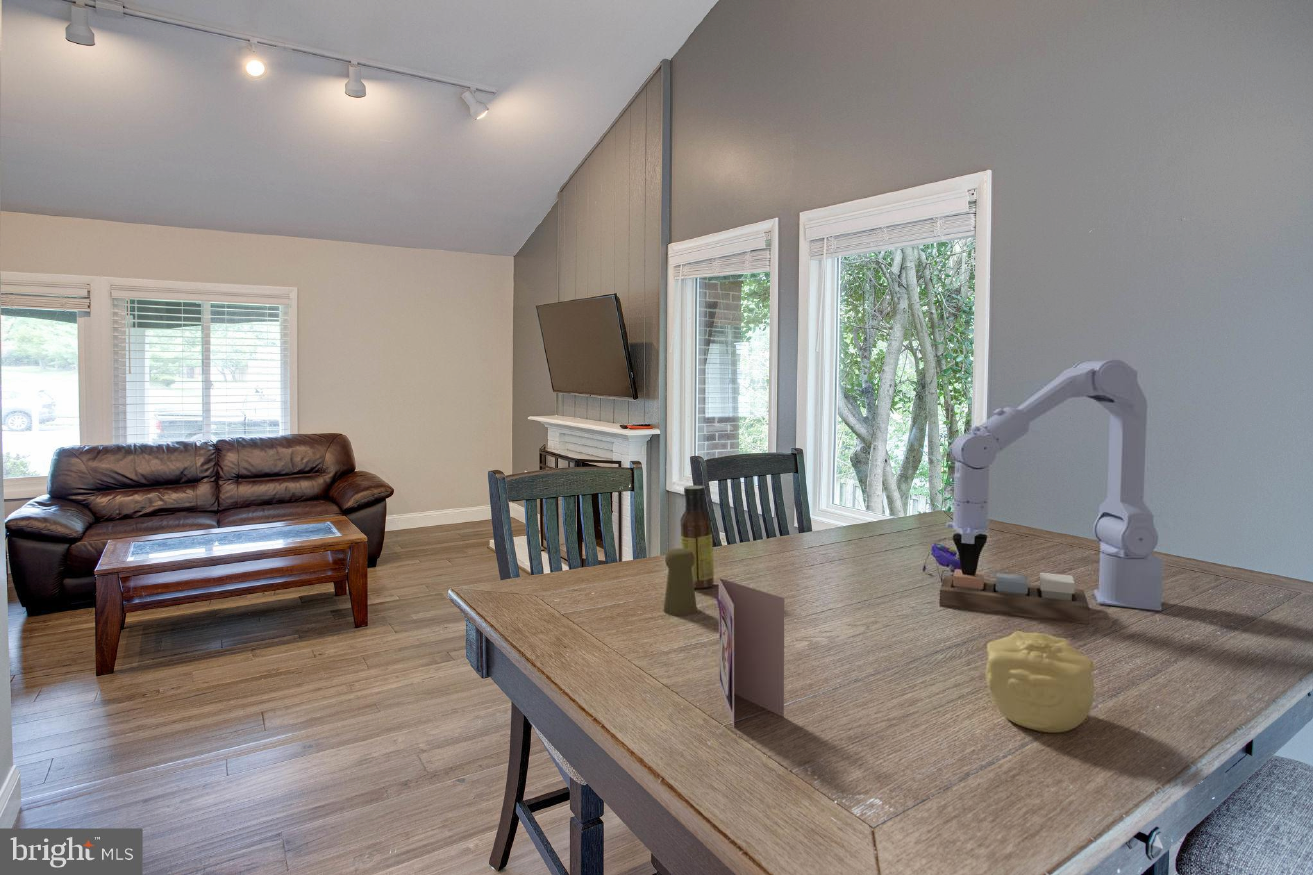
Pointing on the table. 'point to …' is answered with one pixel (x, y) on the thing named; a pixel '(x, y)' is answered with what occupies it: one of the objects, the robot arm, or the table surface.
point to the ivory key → (1056, 586)
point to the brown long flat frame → (1015, 602)
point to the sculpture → (1040, 681)
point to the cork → (680, 583)
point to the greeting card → (751, 646)
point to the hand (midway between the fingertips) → (968, 574)
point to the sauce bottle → (698, 536)
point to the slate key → (1011, 584)
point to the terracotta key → (968, 580)
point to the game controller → (945, 557)
